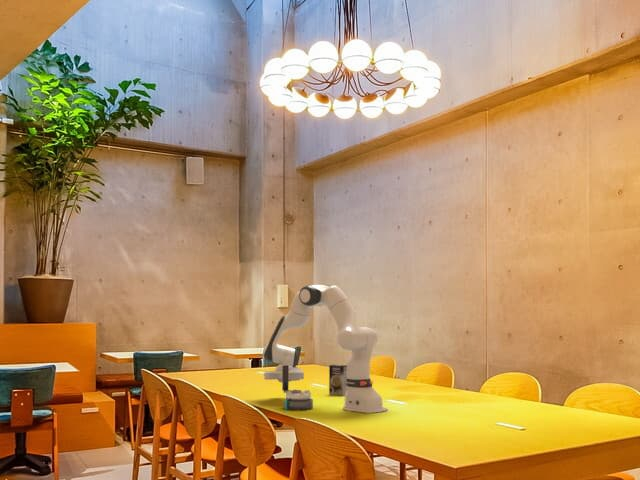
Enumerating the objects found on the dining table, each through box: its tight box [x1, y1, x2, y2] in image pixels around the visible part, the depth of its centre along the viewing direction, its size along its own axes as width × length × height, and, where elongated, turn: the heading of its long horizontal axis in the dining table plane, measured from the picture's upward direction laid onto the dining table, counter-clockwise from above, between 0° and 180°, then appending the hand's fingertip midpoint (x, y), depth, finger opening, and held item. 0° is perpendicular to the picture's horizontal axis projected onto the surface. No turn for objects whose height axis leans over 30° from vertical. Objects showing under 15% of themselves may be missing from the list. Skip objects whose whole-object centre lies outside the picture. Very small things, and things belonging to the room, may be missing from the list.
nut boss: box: [283, 398, 314, 411], centre depth 323 cm, size 14×15×5 cm
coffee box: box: [328, 364, 347, 397], centre depth 370 cm, size 9×6×16 cm
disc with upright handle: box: [281, 365, 312, 401], centre depth 324 cm, size 14×12×16 cm
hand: (284, 376), depth 332 cm, fingers closed
